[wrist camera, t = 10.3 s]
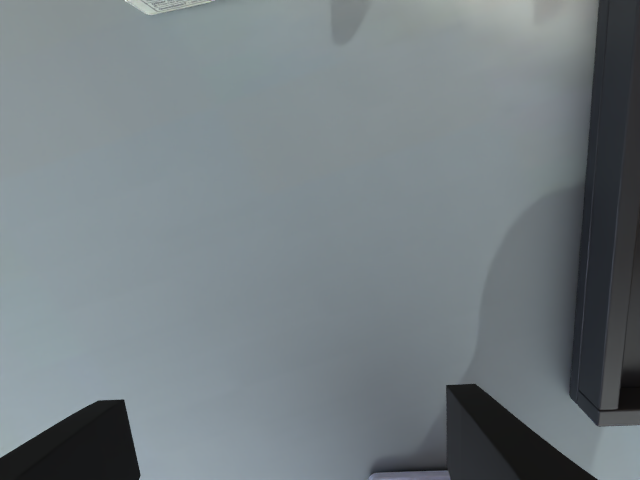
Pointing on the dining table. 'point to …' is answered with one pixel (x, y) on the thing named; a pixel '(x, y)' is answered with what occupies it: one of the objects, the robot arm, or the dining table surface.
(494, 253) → the dining table surface
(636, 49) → the tray
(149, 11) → the cosmetic box
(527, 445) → the robot arm
